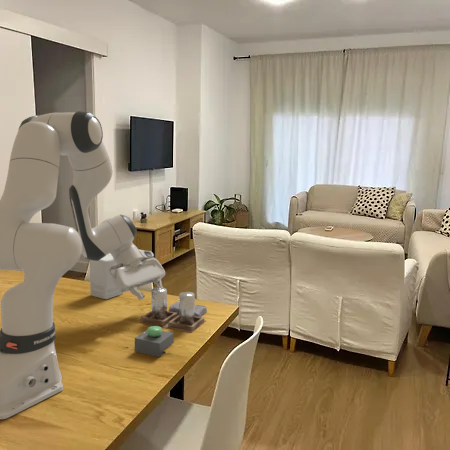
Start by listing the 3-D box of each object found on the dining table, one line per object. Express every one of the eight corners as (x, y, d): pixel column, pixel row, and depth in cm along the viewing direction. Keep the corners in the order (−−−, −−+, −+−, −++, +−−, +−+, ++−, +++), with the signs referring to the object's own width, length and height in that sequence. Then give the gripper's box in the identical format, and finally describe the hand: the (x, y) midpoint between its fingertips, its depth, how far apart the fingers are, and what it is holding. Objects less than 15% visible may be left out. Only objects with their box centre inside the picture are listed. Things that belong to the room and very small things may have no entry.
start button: (156, 349, 126) (157, 332, 126) (144, 346, 128) (144, 330, 127) (164, 344, 130) (164, 327, 129) (152, 341, 131) (152, 325, 131)
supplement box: (123, 294, 176) (123, 256, 173) (106, 300, 168) (105, 261, 166) (107, 289, 180) (106, 253, 178) (89, 295, 173) (88, 257, 170)
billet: (162, 322, 146) (162, 293, 144) (148, 320, 147) (148, 291, 145) (169, 317, 150) (169, 288, 149) (155, 315, 152) (155, 286, 150)
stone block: (178, 313, 163) (165, 317, 153) (180, 300, 163) (167, 303, 153) (209, 319, 158) (197, 324, 149) (211, 306, 158) (199, 309, 149)
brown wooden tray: (191, 336, 138) (191, 328, 138) (138, 325, 145) (138, 318, 145) (206, 323, 149) (206, 316, 148) (156, 314, 156) (156, 307, 155)
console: (159, 357, 124) (159, 343, 123) (134, 351, 127) (134, 338, 126) (173, 345, 131) (173, 332, 131) (149, 340, 134) (149, 328, 134)
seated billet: (189, 328, 142) (190, 297, 140) (175, 325, 144) (176, 295, 142) (196, 322, 146) (197, 293, 145) (183, 320, 148) (183, 291, 147)
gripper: (112, 262, 142) (135, 298, 139) (155, 250, 159) (176, 282, 156) (102, 273, 145) (124, 308, 142) (145, 261, 163) (166, 292, 159)
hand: (152, 294), depth 149 cm, fingers open, 8 cm apart
